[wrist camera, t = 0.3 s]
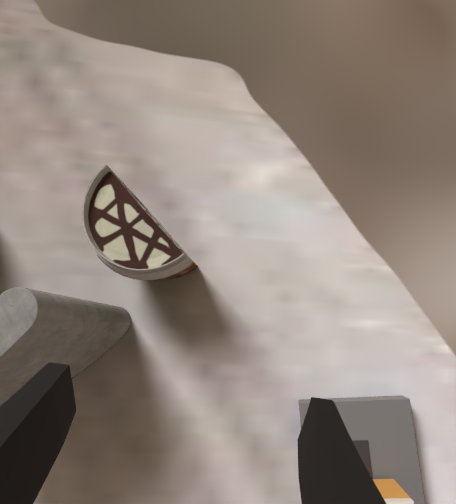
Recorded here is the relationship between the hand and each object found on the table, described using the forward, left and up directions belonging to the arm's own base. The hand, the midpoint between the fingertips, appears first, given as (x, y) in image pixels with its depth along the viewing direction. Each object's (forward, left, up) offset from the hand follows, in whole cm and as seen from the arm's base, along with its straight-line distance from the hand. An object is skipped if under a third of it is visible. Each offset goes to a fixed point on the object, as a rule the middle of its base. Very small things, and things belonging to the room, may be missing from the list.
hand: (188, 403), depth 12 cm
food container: (+12, +10, -29) cm, 33 cm away
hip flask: (+1, +19, -29) cm, 35 cm away
